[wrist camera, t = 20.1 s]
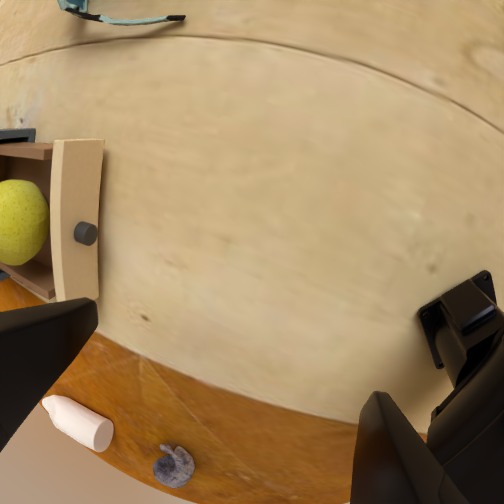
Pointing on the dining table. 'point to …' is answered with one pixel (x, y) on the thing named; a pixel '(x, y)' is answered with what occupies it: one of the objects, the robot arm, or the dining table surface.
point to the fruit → (22, 221)
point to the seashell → (174, 467)
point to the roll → (79, 422)
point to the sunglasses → (77, 5)
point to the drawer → (60, 214)
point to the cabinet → (15, 136)
